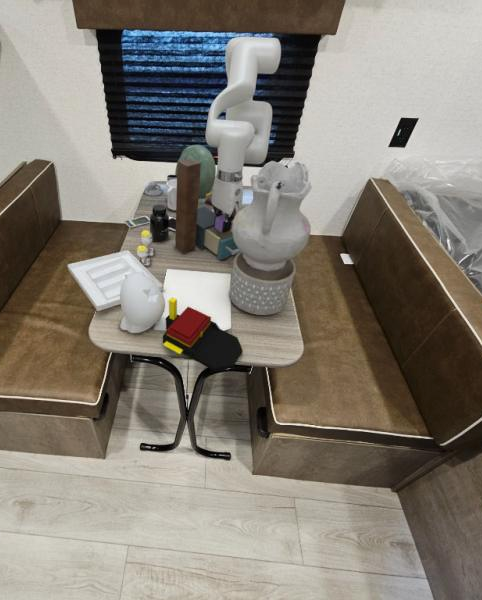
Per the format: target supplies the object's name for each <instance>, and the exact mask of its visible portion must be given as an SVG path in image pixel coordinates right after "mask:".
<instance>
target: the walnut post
mask: <svg viewBox="0 0 482 600" xmlns="http://www.w3.org/2000/svg"><path fill="white" fill-rule="evenodd" d="M176 162H177V163H176V166H177V198H176V211H175V218H176V232H175V241H174V243H175V245H174V248H175V249H177V250H178V252H180V253H181V254H182V255H185V254H187V253H190V252H193V251H195V250H196V245H195V240H196V226H197V212H198V208H199V199H200V198H199V184H200V170H201V163H200V162H198V161H196V160H194V159H192V158H189V159H184V160H180V161H178V160H177V161H176Z"/></svg>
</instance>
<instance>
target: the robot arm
mask: <svg viewBox="0 0 482 600" xmlns="http://www.w3.org/2000/svg"><path fill="white" fill-rule="evenodd" d="M224 53H225V63H224V64H225V71H226V77H227V86H226V87H225V88H224V89H223V90H222V91H221V92H220V93H219V94H218V95H217V96H216V97H215V99H214V100H213V101H212V103H211V105H210V108H209V110H208V114H207V121H206V128H205V142H206V144H207V145H208V146H209V147H211V148H217V164H216V165H217V166H216V175H215V180H214V184H213V187H212V189H211V192H212V198H211V200H210V203H211V204H212V205H211V206H212V209H210V211H212V212H213V213H214V215H216V216H215V220H216V217H218V216H221V215H225V221H224V222H223V229H222V232H223V233H225V232H228V231H230V230H232V224H233V220H234V218H235V216H236V214H237V213H238V212H239V211H240V210H241V209H243V208H244V207H246V206H247V205H246V203H243V199H244V182H243V179H244V175H243V170H244V164H249V165H260V164H263V163H264V162H265V160H266V158H267V155H268V149H269V143H270V135H271V128H272V122H273V121H272V120H273V107H272V105H271V104H270V103H269V102H267V101H261V100H260V101H259V100H253V98H254V95H255V94H256V85H257V79H258V74H263V75H264V74H265V75H268V74H269V75H273V74H275V73H276V72H277V70H278V68H279V65H280V62H281V57H282V46H281V42H280V40H279V38H277V37H263V36H261V37H259V36H236V37H233V38H231V39H229V41H228V42H227V44H226V48H225V52H224ZM224 111H225V119H218V117H219V116H220V115H221V114H222V113H223V112H224ZM214 227H215V222H214Z"/></svg>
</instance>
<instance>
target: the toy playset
mask: <svg viewBox="0 0 482 600" xmlns="http://www.w3.org/2000/svg"><path fill="white" fill-rule="evenodd" d="M165 330H166V332H165V333H164V334H163V335H162V343H163V344H162V345H163V347H165V348H167V349H169V350H170V351H172V352H174V353H175V354H178V355H185V356H186V357H188V358H190V359H192V360H193V361H195V362H197V363H199V364H200V365H202V366H204V367H206V368H208V369H210V370H212V371H214V372H219V371H224V370H232V369H233V368H234V367H235V364H236V363H237V362H238V360H239V359H240V357H241V355H243V350H244V349H243V348H242V344H241V343H240V340H239V338H238V337H237V336H236V335H233V334H231V333H230V332H228V331H226V330H223V329H221V328H220V327H219V326H218V324H217V323H216V322H214V321H213V320H212V316H209V314H208V315H207V314H205V313H204V312H201V311H199V310H197V309H194V308H192V307H190V306H187V307H186V308H185V309H184V310H183V311H182V312H181V313H180V314H178V300H177V298H175V297H172V296H171V298H170V299H168V315H167V316H166V318H165Z"/></svg>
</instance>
